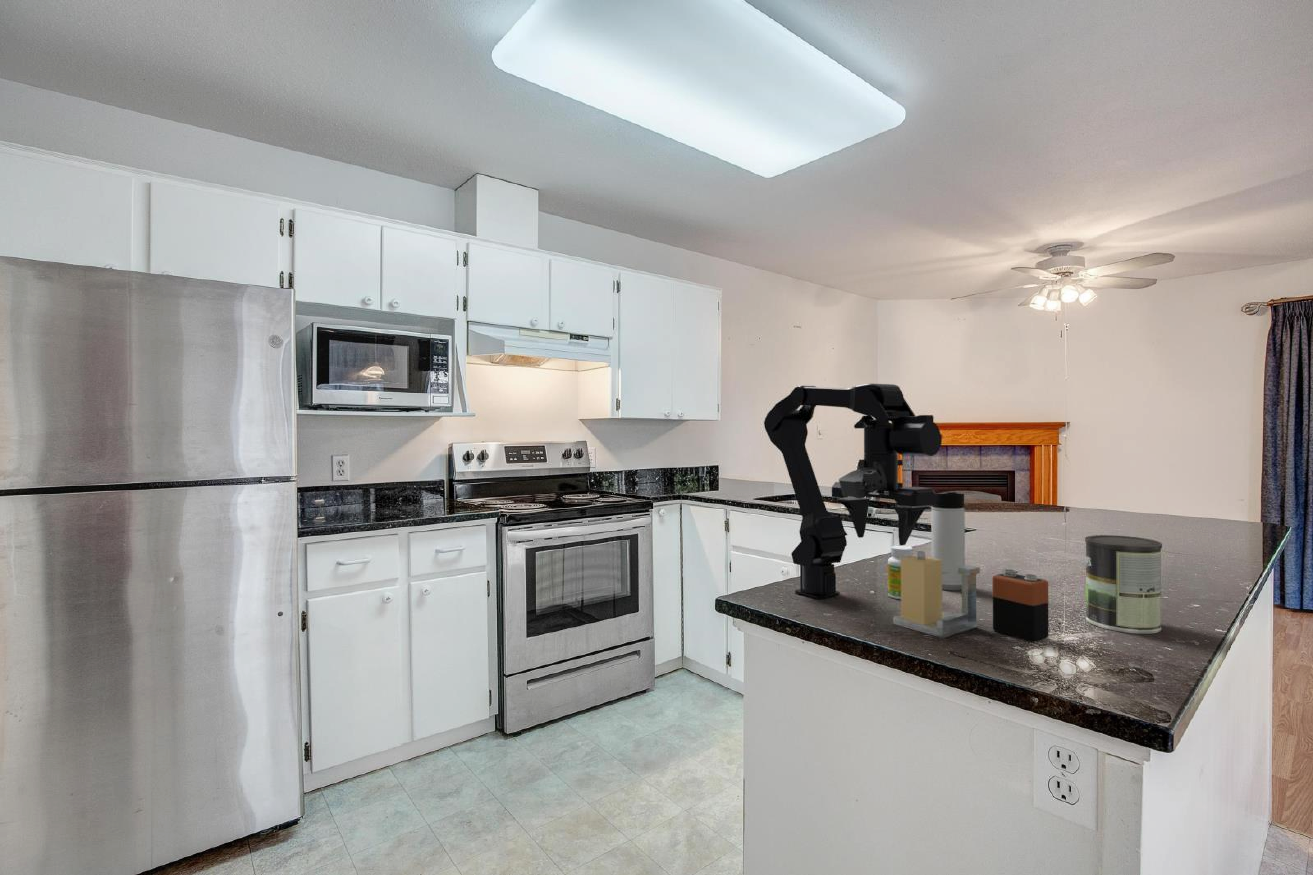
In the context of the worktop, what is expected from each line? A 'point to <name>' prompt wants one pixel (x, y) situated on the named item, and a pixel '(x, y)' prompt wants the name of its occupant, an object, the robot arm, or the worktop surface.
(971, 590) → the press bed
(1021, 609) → the battery
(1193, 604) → the worktop surface
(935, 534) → the travel mug
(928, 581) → the block
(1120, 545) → the coffee can
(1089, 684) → the worktop surface
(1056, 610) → the worktop surface
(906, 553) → the supplement bottle
